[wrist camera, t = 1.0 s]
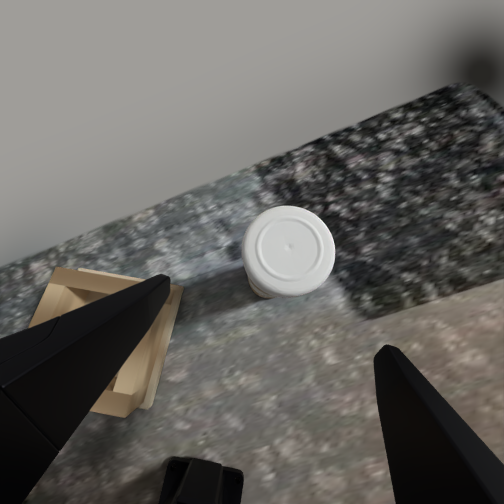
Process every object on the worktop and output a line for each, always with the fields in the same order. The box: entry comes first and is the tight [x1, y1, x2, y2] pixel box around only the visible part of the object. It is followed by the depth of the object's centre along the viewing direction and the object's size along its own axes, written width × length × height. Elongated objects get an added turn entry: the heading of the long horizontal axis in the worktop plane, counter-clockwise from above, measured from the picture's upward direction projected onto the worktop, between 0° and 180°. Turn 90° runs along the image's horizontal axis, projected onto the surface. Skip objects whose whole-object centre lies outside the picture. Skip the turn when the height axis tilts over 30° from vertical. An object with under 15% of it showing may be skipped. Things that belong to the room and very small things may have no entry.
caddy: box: [28, 267, 184, 418], centre depth 19 cm, size 11×11×4 cm
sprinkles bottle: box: [242, 206, 335, 299], centre depth 16 cm, size 5×5×14 cm
